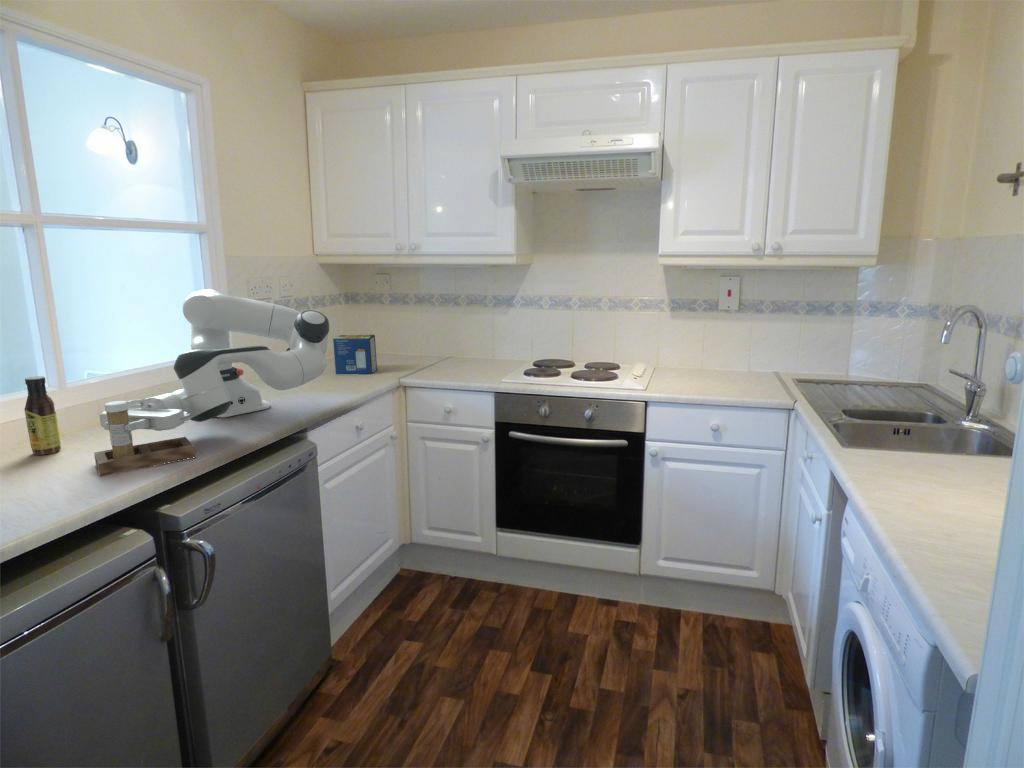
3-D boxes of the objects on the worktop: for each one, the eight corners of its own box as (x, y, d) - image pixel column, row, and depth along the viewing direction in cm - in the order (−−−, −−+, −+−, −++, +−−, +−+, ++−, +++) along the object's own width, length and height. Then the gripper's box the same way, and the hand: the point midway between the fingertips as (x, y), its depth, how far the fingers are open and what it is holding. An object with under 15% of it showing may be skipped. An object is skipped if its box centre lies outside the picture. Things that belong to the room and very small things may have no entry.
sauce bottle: (30, 452, 161) (16, 377, 157) (59, 447, 165) (46, 373, 161) (34, 457, 156) (20, 380, 152) (64, 452, 161) (51, 377, 157)
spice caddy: (186, 447, 163) (185, 436, 162) (195, 457, 154) (194, 446, 153) (95, 464, 151) (93, 452, 150) (100, 476, 142) (98, 463, 142)
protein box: (342, 370, 270) (339, 334, 267) (377, 369, 270) (375, 334, 266) (334, 374, 260) (332, 338, 257) (371, 374, 259) (368, 337, 256)
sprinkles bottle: (119, 454, 151) (110, 400, 148) (138, 453, 152) (130, 399, 149) (109, 460, 147) (100, 405, 144) (129, 459, 147) (120, 404, 144)
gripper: (197, 426, 159) (155, 442, 145) (129, 423, 163) (83, 438, 150) (193, 402, 157) (152, 416, 144) (125, 399, 162) (79, 413, 148)
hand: (116, 427), depth 147 cm, fingers closed on sprinkles bottle, 4 cm apart
